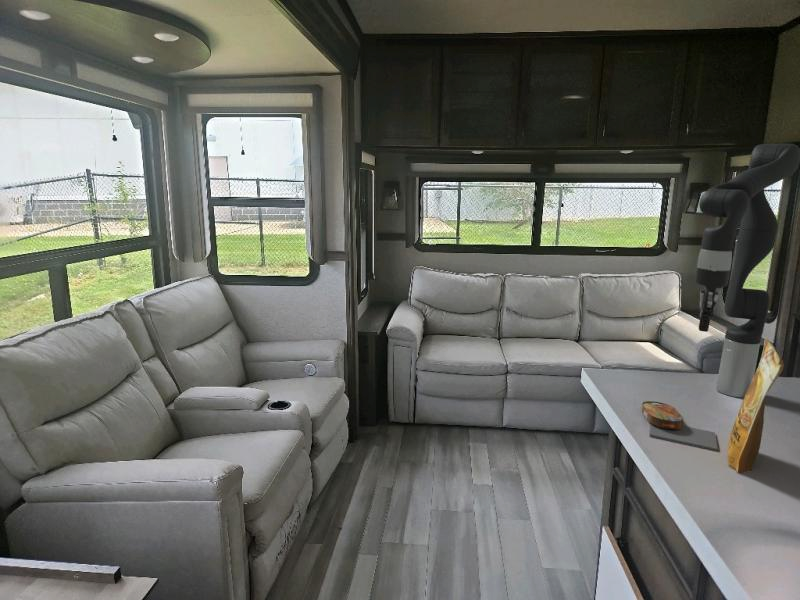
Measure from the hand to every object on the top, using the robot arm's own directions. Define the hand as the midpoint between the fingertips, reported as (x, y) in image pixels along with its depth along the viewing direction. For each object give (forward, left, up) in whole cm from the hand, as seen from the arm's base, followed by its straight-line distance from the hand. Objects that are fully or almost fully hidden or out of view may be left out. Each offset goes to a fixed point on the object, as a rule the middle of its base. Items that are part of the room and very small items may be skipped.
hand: (703, 330), depth 139 cm
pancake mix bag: (+20, +11, -25) cm, 34 cm away
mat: (+14, -2, -25) cm, 29 cm away
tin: (+6, -3, -24) cm, 25 cm away
